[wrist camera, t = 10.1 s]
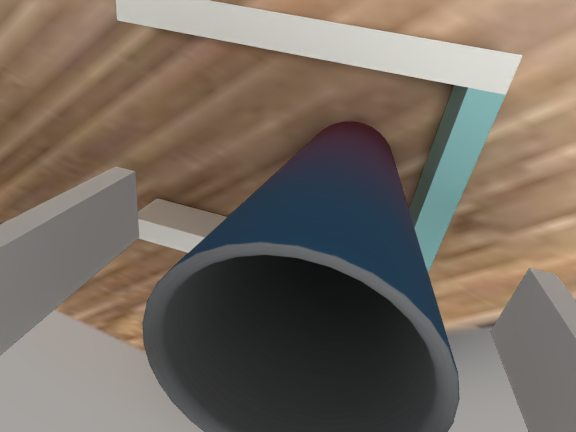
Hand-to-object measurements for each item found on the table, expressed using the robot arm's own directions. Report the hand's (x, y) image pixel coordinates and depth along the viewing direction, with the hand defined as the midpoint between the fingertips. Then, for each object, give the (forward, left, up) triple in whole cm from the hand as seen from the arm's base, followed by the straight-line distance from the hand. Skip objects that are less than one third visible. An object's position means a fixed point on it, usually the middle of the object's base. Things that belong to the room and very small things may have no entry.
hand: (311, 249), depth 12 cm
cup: (0, 0, -10) cm, 10 cm away
